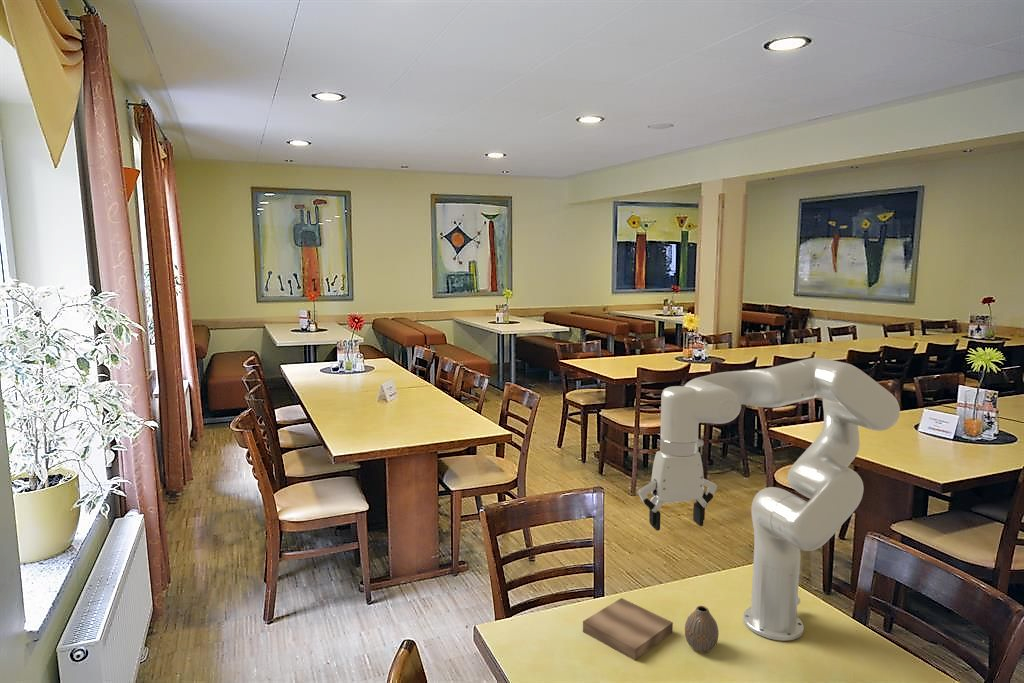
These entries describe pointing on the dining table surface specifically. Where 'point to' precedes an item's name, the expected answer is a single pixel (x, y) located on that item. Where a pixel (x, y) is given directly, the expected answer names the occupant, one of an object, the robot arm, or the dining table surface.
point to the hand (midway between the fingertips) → (676, 525)
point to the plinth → (628, 628)
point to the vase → (701, 630)
